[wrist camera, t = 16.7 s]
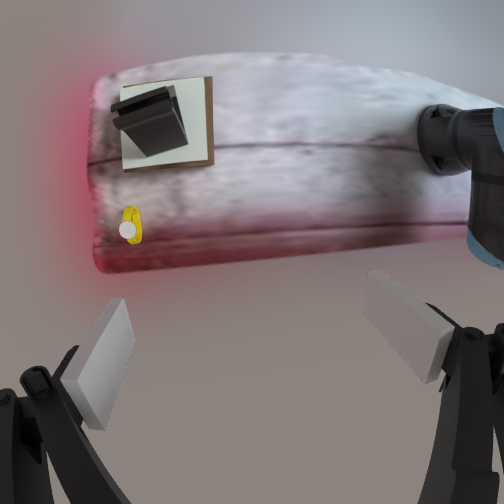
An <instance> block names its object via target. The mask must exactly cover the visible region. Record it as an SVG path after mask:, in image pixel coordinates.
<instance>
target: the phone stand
mask: <svg viewBox="0 0 504 504" xmlns="http://www.w3.org/2000/svg"><path fill="white" fill-rule="evenodd" d="M115 111H118V114H119V117H117V118H115V119H113V123H114V125H115V127H116V128H117V129H118V130H122V131H124V132H125V133H126V134H127V136H128V137H129V138H130V139H131V140H132V141H133V142H134V143H135V145H136V146H137V147H138V148H139V149H140V150H141V151H142V152H143V153H144V155H145V156H146V157H149V156H152V155H155V154H159V153H162V152H165V151H168V150H171V149H175V148H178V147H181V146H185V145H188V140H187V136H186V132H185V128H184V124H183V120H182V116H181V112H180V108H179V104H178V99H177V95H176V91H175V87H174V85H171V86H168V87H167V86H163V87H160V88H157V89H154V90H151V91H148V92H145V93H142V94H139V95H136V96H134V97H131V98H128V99H126V100H123V101H120V102H118V103H115V104H113V105H111V112H115Z"/></svg>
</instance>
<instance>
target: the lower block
mask: <svg viewBox="0 0 504 504" xmlns="http://www.w3.org/2000/svg"><path fill="white" fill-rule="evenodd" d="M195 78H198V77H195ZM183 79H187V78H183ZM173 80H178V79H173ZM164 81H170V80H164ZM156 82H162V81H156ZM149 83H155V82H148V83H141V84H135V85H129V86H123V88H126V87H131V86H137V85H143V84H149ZM204 83H205V110H206V133H207V153H208V160H201V161H190V162H179V163H170V164H161V165H153V166H145V167H137V168H130V169H124V173H125V172H134V171H142V170H152V169H162V168H173V167H185V166H199V165H214V137H213V89H212V77H204Z"/></svg>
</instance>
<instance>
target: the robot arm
mask: <svg viewBox="0 0 504 504" xmlns="http://www.w3.org/2000/svg"><path fill="white" fill-rule="evenodd" d="M418 143H419V147H420V151H421V153H422V156H423V158H424V160H425V161H426V163H427V164H428V166H429V167H430V168H431V169H432V170H434V171H435V172H437V173H439V174H442V175H449V176H453V175H457V174H460V173H463V172H466V171H469V170H471V171H472V174H471V197H470V210H469V220H468V221H467V229H468V230H467V245H468V248H469V250H470V251H471V253H472V254H473V255H474V256H475V257H476V258H478V259H479V260H480V261H482V262H484V263H485V264H488V265H489V266H492V267H497V268H499V269H501V270H504V108H502V107H496V108H486V109H473V110H462V109H459V108H456V107H453V106H450V105H446V104H438V105H432V106H430V107H428V108H427V109H426V110H425V111H424V112H423V113H422V115H421V117H420V120H419V124H418ZM364 315H365V316H366V317H367V318H368V319H369V320H370V322H371V323H372V324H373V325H374V326H375V327H376V328H377V329H378V331H379V332H380V333H381V334H382V335H383V336H384V337H385V338H386V340H387V341H388V342H389V343H390V344H391V345H392V346H393V348H394V349H395V350H396V351H397V352H398V354H399V355H400V356H401V357H402V358H403V359H404V361H405V362H406V363H407V364H408V365H409V366H410V367H411V369H412V370H413V371H414V372H415V374H416V375H417V376H418V377H419V378H420V380H421V381H422V382H423V383H424V384H427V383H430V382H432V381H434V380H436V379H438V377H439V373H440V371H441V368H442V369H443V370H444V371H445V373H446V375H445V377H444V380H443V382H442V385H441V387H440V390H439V392H441V391H442V398H441V406H440V413H439V419H438V425H437V431H436V436H435V441H434V446H433V450H432V455H431V459H430V463H429V467H428V471H427V475H426V478H425V482H424V485H423V488H422V492H421V495H420V498H419V501H418V504H497V497H498V490H499V481H500V480H499V474H498V472H493V471H492V455H493V425H494V429H495V433H496V437H497V441H498V446H499V451H500V455H501V461H502V467H503V473H504V323H500V324H498V325H497V326H496V329H495V332H494V334H488V335H485V334H484V333H483V332H482V331H481V330H479V329H477V328H473V327H465V328H462V327H460V326H459V325H458V324H457V323H456V322H454V321H453V320H452V319H451V318H449V317H448V316H446V315H445V314H444V313H443V312H441V311H440V310H439V309H438V308H437V307H435V306H433V305H431V304H428V303H424V302H423V301H421V300H420V299H419V298H418V297H416V296H415V295H414V294H412V293H411V292H410V291H409V290H407V289H406V288H405V287H403V286H402V285H401V284H399V283H398V282H397V281H395V280H394V279H393V278H391V277H390V276H389V275H387V274H386V273H385V272H383V271H382V270H380V269H375V270H368V275H367V287H366V297H365V308H364ZM135 343H136V339H135V336H134V332H133V329H132V325H131V322H130V318H129V315H128V311H127V308H126V304H125V300H124V297H119V298H111V299H110V300H109V302H108V303H107V305H106V306H105V308H104V309H103V311H102V312H101V314H100V315H99V317H98V318H97V320H96V321H95V323H94V324H93V326H92V327H91V329H90V330H89V332H88V333H87V335H86V337H85V338H84V340H83V342H82V343H81V345H76V346H74V347H73V348H72V349H70V350H69V351H68V352H67V354H66V355H65V357H64V358H63V360H62V361H61V364H60V366H58V368H57V370H56V371H55V373H54V375H53V376H52V377H51V375H50V373H49V372H48V370H47V369H46V367H43V366H34V367H31V368H29V369H28V370H26V371H25V372H24V373H23V374H22V375H21V377H20V383H21V385H22V387H23V388H24V390H25V392H26V393H27V395H28V396H27V397H19V398H18V397H17V395H16V394H15V392H14V391H13V390H12V389H9V388H7V389H6V388H5V389H2V390H0V504H54V500H53V495H52V489H51V484H50V478H49V470H48V463H47V454H46V450H47V453H48V455H49V458H50V460H51V463H52V465H53V467H54V470H55V472H56V474H57V477H58V479H59V481H60V483H61V485H62V487H63V489H64V491H65V493H66V495H67V497H68V499H69V501H70V503H71V504H131V503H130V501H129V500H128V499H127V497H126V496H125V495H124V493H123V492H122V491H121V489H120V488H119V487H118V485H117V484H116V482H115V481H114V480H113V478H112V477H111V475H110V474H109V472H108V471H107V469H106V468H105V466H104V465H103V463H102V462H101V460H100V458H99V457H98V455H97V454H96V452H95V450H94V448H93V447H92V445H91V444H90V442H89V440H88V438H87V436H86V435H85V433H84V431H83V430H82V428H81V424H82V422H83V420H84V421H85V423H86V425H87V426H88V428H89V429H94V430H104V431H105V430H106V426H107V423H108V420H109V417H110V413H111V410H112V407H113V404H114V401H115V398H116V395H117V392H118V390H119V387H120V384H121V380H122V378H123V375H124V372H125V369H126V367H127V364H128V361H129V359H130V356H131V353H132V351H133V348H134V345H135ZM442 389H443V390H442Z"/></svg>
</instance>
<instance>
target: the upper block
mask: <svg viewBox="0 0 504 504" xmlns="http://www.w3.org/2000/svg"><path fill="white" fill-rule="evenodd" d="M171 85H174V87H175V91H176V95H177V99H178V104H179V108H180V112H181V116H182V120H183V124H184V128H185V132H186V136H187V140H188V145H185V146H181V147H178V148H175V149H171V150H168V151H165V152H162V153H159V154H155V155H152V156H149V157H146V156H145V155H144V153H143V152H142V151H141V150H140V149H139V148H138V147H137V146H136V145H135V143H134V142H133V141H132V140H131V139H130V138H129V137H128V136H127V134H126V133H125V132H124V131H122V130H121V148H122V164H123V169H130V168H137V167H145V166H153V165H161V164H170V163H179V162H190V161H201V160H208V153H207V133H206V110H205V83H204V77H198V78H187V79H178V80H170V81H162V82H155V83H149V84H143V85H137V86H131V87H126V88H121V89H120V101H123V100H126V99H128V98H131V97H134V96H136V95H139V94H142V93H145V92H148V91H151V90H154V89H157V88H160V87H163V86H167V87H168V86H171Z"/></svg>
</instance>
